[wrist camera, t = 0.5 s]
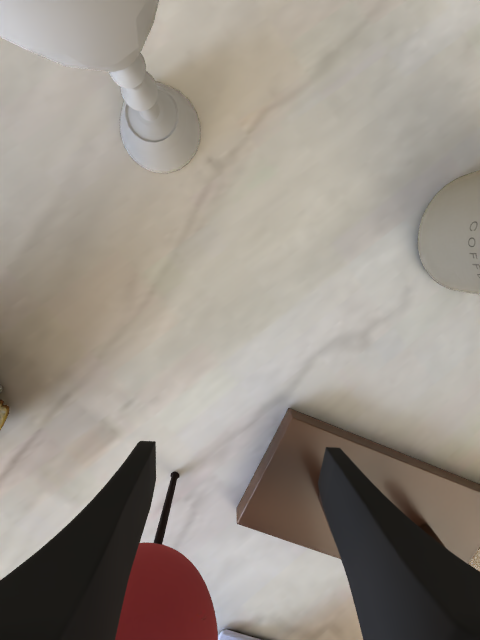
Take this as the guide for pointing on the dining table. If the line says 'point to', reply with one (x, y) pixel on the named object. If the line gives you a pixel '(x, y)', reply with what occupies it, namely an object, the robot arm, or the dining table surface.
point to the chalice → (112, 68)
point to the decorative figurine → (3, 411)
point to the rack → (377, 465)
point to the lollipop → (165, 593)
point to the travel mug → (453, 235)
